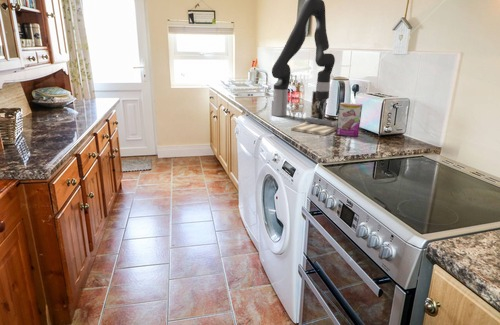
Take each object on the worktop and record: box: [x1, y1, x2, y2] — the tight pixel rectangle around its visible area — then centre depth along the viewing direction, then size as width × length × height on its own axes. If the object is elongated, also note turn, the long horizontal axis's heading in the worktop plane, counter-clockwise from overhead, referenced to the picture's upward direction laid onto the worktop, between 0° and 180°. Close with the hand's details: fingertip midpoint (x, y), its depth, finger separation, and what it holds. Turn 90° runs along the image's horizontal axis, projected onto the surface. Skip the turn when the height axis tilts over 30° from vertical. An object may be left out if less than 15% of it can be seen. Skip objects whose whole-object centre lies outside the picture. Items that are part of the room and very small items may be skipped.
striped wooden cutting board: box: [290, 121, 337, 136], centre depth 191 cm, size 20×25×2 cm
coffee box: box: [309, 90, 328, 119], centre depth 223 cm, size 9×6×16 cm
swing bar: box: [304, 117, 338, 126], centre depth 194 cm, size 19×4×2 cm, turn 56°
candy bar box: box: [335, 102, 363, 138], centre depth 176 cm, size 11×5×16 cm, turn 71°
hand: (320, 119), depth 201 cm, fingers closed
